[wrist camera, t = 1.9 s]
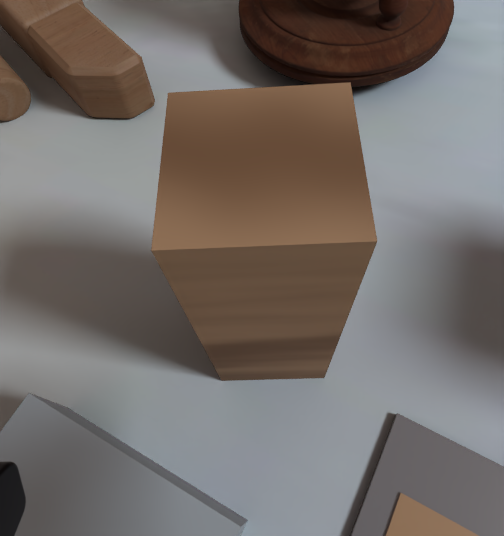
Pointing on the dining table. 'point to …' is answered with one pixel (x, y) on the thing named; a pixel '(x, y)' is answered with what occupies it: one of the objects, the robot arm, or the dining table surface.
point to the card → (431, 488)
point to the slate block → (100, 482)
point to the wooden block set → (72, 60)
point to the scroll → (345, 37)
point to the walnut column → (264, 223)
